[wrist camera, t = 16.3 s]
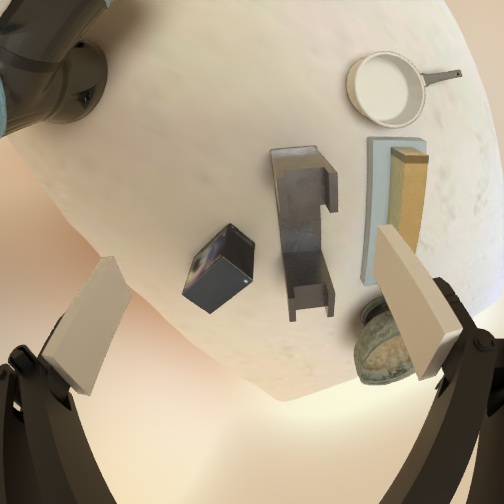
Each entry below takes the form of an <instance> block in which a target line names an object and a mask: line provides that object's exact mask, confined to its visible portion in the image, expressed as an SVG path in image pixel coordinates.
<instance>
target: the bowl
mask: <svg viewBox="0 0 504 504" xmlns="http://www.w3.org/2000/svg"><path fill="white" fill-rule="evenodd" d="M361 321H362V323H363V324H364V325H365V327H364V328H363V329H362V331H361V332H360V334H359V337H358V339H357V341H356V345H355V348H354V361H355V366H356V370H357V374H358V376H359V377H360V381H361V382H362V383H363V384H367V385H386V384H390V383H392V382H396V381H399V380H402V379H404V378H406V377H408V376H410V375H412V374H414V373H416V371H415V368H414V366H413V363H412V361H411V358H410V355H409V353H408V350H407V348H406V346H405V343H404V341H403V338H402V336H401V334H400V331H399V329H398V327H397V324H396V322H395V320H394V317H393V315H392V313H391V311H390V309H389V306H388V304H387V302H386V300H385V298H384V296H383V297H380V298H377V299H375V300H373V301H372V302H370V303H369V304H368V305H367V306H366V307H365V308H364V310H363V312H362V314H361Z"/></svg>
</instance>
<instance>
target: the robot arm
mask: <svg viewBox="0 0 504 504" xmlns="http://www.w3.org/2000/svg"><path fill="white" fill-rule="evenodd" d="M111 2H112V0H0V138H2V137H3V136H6V135H8V134H10V133H13V132H15V131H17V130H20V129H22V128H25V127H27V126H30V125H32V124H35V123H38V122H41V121H45V122H51V123H56V124H66V123H70V122H73V121H76V120H79V119H81V118H83V117H84V116H86V115H87V114H88V113H89V112H90V111H91V110H92V109H93V108H94V107H95V106H96V104H97V103H98V101H99V100H100V98H101V96H102V94H103V91H104V88H105V85H106V80H107V63H106V59H105V56H104V54H103V52H102V51H101V49H100V48H99V47H98V46H97V45H96V44H94V43H93V42H90V41H87V40H80V38H81V37H82V36H83V34H84V33H85V32H86V31H87V29H88V28H89V27H90V26H91V25H92V23H93V22H94V21H95V20H96V19H97V17H98V16H99V15H100V14H101V13H102V12H103V11H104V10H105V8H106V9H107V8H108V7H109V6H110V3H111ZM372 273H373V275H374V277H375V279H376V281H377V283H378V285H379V287H380V289H381V292H382V294H383V296H384V298H385V300H386V302H387V304H388V306H389V309H390V311H391V313H392V315H393V317H394V320H395V322H396V324H397V327H398V329H399V331H400V334H401V336H402V338H403V341H404V343H405V346H406V348H407V350H408V353H409V355H410V358H411V361H412V363H413V366H414V368H415V371H416V374H417V376H418V379H419V381H421V380H424V379H427V378H430V377H433V376H436V374H437V373H438V371H439V370H440V368H441V367H442V370H443V372H444V376H443V377H442V379H441V380H440V381H439V383H438V384H437V386H436V388H435V389H436V390H437V389H438V391H437V393H436V396H435V399H434V401H433V404H432V406H431V409H430V411H429V413H428V416H427V418H426V420H425V423H424V425H423V427H422V429H421V432H420V434H419V436H418V438H417V440H416V442H415V444H414V446H413V448H412V450H411V452H410V454H409V456H408V458H407V459H406V461H405V463H404V464H403V466H402V468H401V470H400V472H399V473H398V475H397V477H396V478H395V480H394V481H393V483H392V485H391V486H390V488H389V489H388V491H387V492H386V494H385V495H384V497H383V498H382V500H381V501H380V503H379V504H450V502H451V500H452V498H453V496H454V494H455V492H456V490H457V488H458V486H459V483H460V481H461V479H462V477H463V474H464V472H465V470H466V467H467V465H468V462H469V460H470V457H471V455H472V452H473V449H474V446H475V444H476V441H477V437H478V434H479V442H478V449H477V456H476V462H475V467H474V473H473V477H472V482H471V486H470V491H469V494H468V498H467V502H466V504H504V339H495V338H494V336H493V335H492V334H491V333H490V332H488V331H486V330H484V329H479V328H477V327H476V325H475V323H474V321H473V320H472V318H471V317H470V315H469V313H468V312H467V310H466V309H465V307H464V306H463V304H462V302H460V299H459V298H458V296H457V295H455V292H454V291H453V289H452V288H451V286H450V285H449V284H448V283H447V282H446V281H444V280H443V279H442V278H440V277H438V278H433V279H432V278H431V276H430V275H429V273H428V272H427V270H426V269H425V268H424V266H423V265H422V263H421V262H420V261H419V259H418V258H417V256H416V255H415V254H414V252H413V251H412V250H411V248H410V247H409V246H408V244H407V243H406V242H405V240H404V239H403V238H402V237H401V235H400V234H399V233H398V231H397V230H396V229H395V228H394V226H393V225H392V224H389V225H379V226H377V237H376V246H375V255H374V263H373V270H372ZM131 297H132V295H131V293H130V291H129V289H128V287H127V285H126V283H125V280H124V278H123V276H122V274H121V272H120V270H119V268H118V265H117V263H116V261H115V259H114V257H113V256H109V257H102V258H101V260H100V261H99V262H98V264H97V265H96V267H95V268H94V269H93V271H92V272H91V274H90V275H89V277H88V278H87V280H86V281H85V283H84V284H83V286H82V287H81V289H80V290H79V292H78V293H77V295H76V297H75V298H74V300H73V301H72V303H71V304H70V306H69V308H68V309H67V311H66V312H65V313H64V314H63V315H62V317H60V319H59V320H58V321H57V323H56V325H55V326H54V329H53V330H52V331H51V333H50V336H49V337H48V339H47V340H46V342H45V344H44V346H43V348H42V350H41V351H40V353H39V355H38V357H37V358H36V356H35V355H34V354H33V353H32V352H31V351H30V349H29V348H28V347H27V346H26V345H20V346H17V347H16V348H15V349H14V350H13V351H12V353H11V354H10V356H9V358H8V363H9V364H10V365H11V366H12V367H13V368H14V369H15V370H13V369H12V368H11V367H10V365H8V364H3V365H1V366H0V504H117V503H116V501H115V499H114V498H113V496H112V494H111V492H110V490H109V489H108V486H107V484H106V482H105V480H104V478H103V476H102V474H101V472H100V470H99V467H98V465H97V463H96V461H95V459H94V456H93V454H92V451H91V449H90V446H89V444H88V441H87V439H86V436H85V433H84V430H83V428H82V425H81V422H80V419H79V416H78V413H77V410H76V407H75V403H74V400H73V397H72V395H71V393H70V392H69V388H70V386H71V387H72V388H73V389H74V390H75V391H76V392H77V393H79V394H83V395H88V396H90V395H91V392H92V389H93V387H94V384H95V381H96V379H97V376H98V374H99V371H100V368H101V366H102V363H103V361H104V358H105V356H106V353H107V351H108V349H109V346H110V343H111V341H112V339H113V337H114V335H115V332H116V330H117V328H118V325H119V323H120V321H121V319H122V316H123V314H124V312H125V310H126V308H127V306H128V303H129V301H130V299H131ZM14 402H15V403H16V404H17V405H19V406H20V407H21V409H20V411H18V410H16V409H15V408H14V407H13V403H14ZM479 431H480V432H479Z"/></svg>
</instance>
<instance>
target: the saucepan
mask: <svg viewBox="0 0 504 504" xmlns="http://www.w3.org/2000/svg"><path fill="white" fill-rule="evenodd" d="M456 73H457V75H456ZM457 77H462V73H461V70H454V71H448V72H443V73H437V74H424V73H422V74H420V73H419V72H418V70H417V69H416V67H415V66H414V65H413V64H412V63H411V62H410V61H409V60H408V59H406V58H405V57H403V56H401V55H399V54H397V53H394V52H389V51H380V52H375V53H373V54H370V55H369V56H367V57H364V58H362V59H360V60H358V61H357V62H355V64H354V65H353V66H352V67H351V69H350V71H349V73H348V76H347V84H346V85H347V92H348V96H349V98H350V100H351V102H352V104H353V105H354V107H355V108H356V109H357V110H358V111H359V112H360V113H361V114H362V115H364V116H365V117H367V118H369V119H371V120H372V121H374V122H375V123H377V124H379V125H381V126H383V127H387V128H402V127H405V126H408V125H410V124H411V123H413V122H414V121H415V120H416V119H417V118H418V117H419V115H420V113H421V112H422V110H423V107H424V103H425V87H426V86H429V85H430V84H432V83H436V82H439V81H443V80H448V79H452V78H457Z"/></svg>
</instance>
